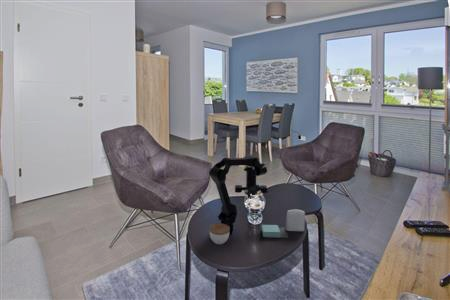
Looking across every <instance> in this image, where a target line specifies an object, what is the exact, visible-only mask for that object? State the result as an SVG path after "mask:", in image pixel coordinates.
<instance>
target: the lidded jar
mask: <svg viewBox="0 0 450 300" xmlns="http://www.w3.org/2000/svg"><path fill="white" fill-rule="evenodd" d="M208 230H209V231H208V232H209V237H210V240H211V241H212V242H213V243H214V244H215V245H224V244H225V243H226V242H227V241H228V240H229V236H230V234H229V233H230V227H229V226H228V225H226V224H222V223H221V222H219V223H214V224H211V225H210V226H209V229H208Z"/></svg>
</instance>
